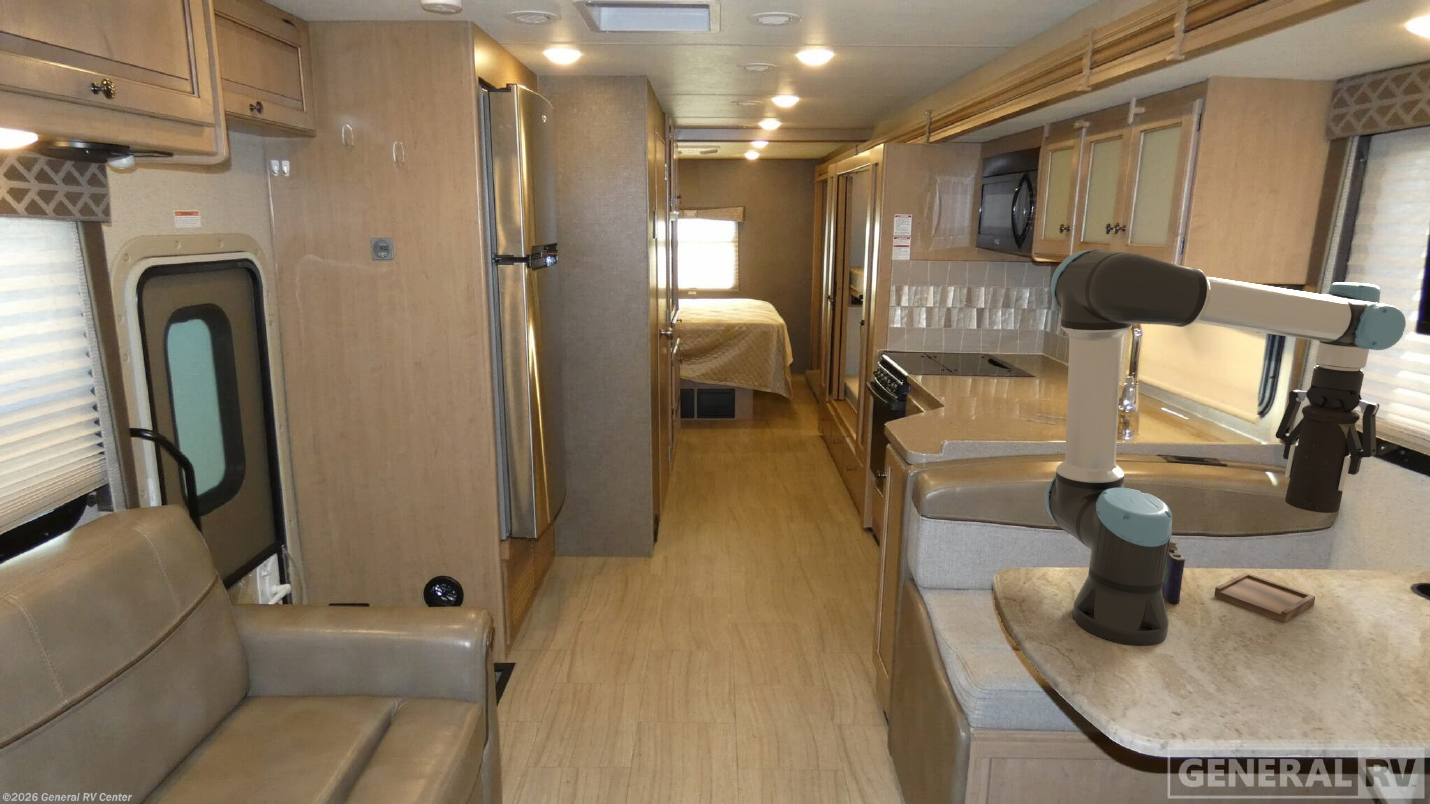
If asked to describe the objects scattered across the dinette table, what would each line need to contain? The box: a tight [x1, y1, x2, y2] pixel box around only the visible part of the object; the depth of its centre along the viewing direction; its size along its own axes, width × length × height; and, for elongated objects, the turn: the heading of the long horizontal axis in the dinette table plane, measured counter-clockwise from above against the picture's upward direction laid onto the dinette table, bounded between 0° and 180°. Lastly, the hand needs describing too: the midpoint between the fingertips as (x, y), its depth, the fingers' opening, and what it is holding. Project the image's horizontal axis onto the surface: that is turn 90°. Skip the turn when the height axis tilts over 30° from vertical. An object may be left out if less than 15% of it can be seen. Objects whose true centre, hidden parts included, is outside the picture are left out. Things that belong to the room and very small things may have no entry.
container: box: [1284, 403, 1361, 514], centre depth 154 cm, size 9×9×20 cm
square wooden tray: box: [1213, 572, 1316, 623], centre depth 152 cm, size 12×12×2 cm
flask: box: [1162, 541, 1186, 605], centre depth 153 cm, size 9×3×11 cm, turn 175°
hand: (1316, 482), depth 155 cm, fingers closed on container, 8 cm apart
